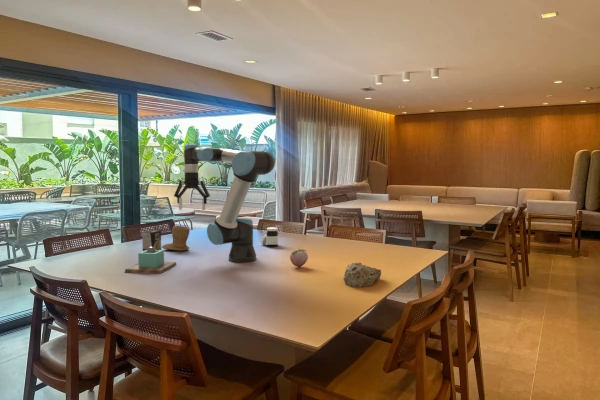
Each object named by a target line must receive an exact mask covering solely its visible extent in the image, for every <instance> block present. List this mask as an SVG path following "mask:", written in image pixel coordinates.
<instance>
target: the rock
mask: <svg viewBox="0 0 600 400" xmlns="http://www.w3.org/2000/svg"><path fill="white" fill-rule="evenodd" d="M381 276H382V269H380V268H379V269H378V268H376V267H371V266H368V265H365V264H363V263H361V262H352V263H351V264H347V267H346V268H345V271H344V277H343V282H344V284H345V285H347V286H349V287H351V288H352V287H354V288H362V287H368V286H371V285H372V284H373V283H374V282H375V281H377V280H379V279H381Z"/></svg>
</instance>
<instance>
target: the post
mask: <svg viewBox="0 0 600 400" xmlns="http://www.w3.org/2000/svg"><path fill="white" fill-rule="evenodd" d="M147 253H155V248H154V247H149V248H148V249H147Z"/></svg>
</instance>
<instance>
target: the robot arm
mask: <svg viewBox="0 0 600 400" xmlns="http://www.w3.org/2000/svg"><path fill="white" fill-rule="evenodd" d="M183 147H184V148H183V157H184V160H183V161H184V165H183V167H184V180H181V179H180V180H179V181H178V186H177V187H176V190H175V192H174V194H173V197H174V198H176V199H177V204H178V210H183V197H182V196H183V195H184V193H186V191H187V190H188V189H192V190H194V189H195V190H196V191H197V192H198V193H199V194H200V195H201V196H202V198H201V204H202V206H201V210H202V211H205V210H206V205H207V201H208V199H207V198H210V197H211V195H210V193H209V191H208V188H207V187H206V184H205V180H199V162H203V163H204V162H221V163H228V164H231V169H232V173H233V176H234V178H233V180H232V183H231V186H230V188H229V191H228V193H227V195H226V199H225V201H224V203H223V204H224V205H223V207H222V210H221V211H220V214H218V215H217V216H216V217H215V219H214V222H210V223H209V224H208V225H207V227H206V235H207V238H208V240H209V242H210V243H212V245H216V246H218V245H220V246H222V245H225V244H231V247H230V250H229V253H228V261H230V262H234V263H246V262H247V263H248V262H254V261H256V260H257V254H256V250H255V247H254V223H253V220H252V218H247V217H238V216H239V215H240V213H241V209H242V207H243V204H244V202H245V199H246V196H247V195H248V192H249V189H250V187H251V184H253V183H256V180H257V178H258V176H259V175H260V176H261V175H267V174H269V173H271V172H272V171H273V170H274V168H275V164H276V162H275V158H274V156H273V155H272V154H271V153H269V152H268V151H264V150H263V151H262V150H261V151H260V150H259V151H258V150H257V151H255V150H235V149H229V148H226V147H222V148H221V147H207V146H206V147H205V146H201V147H199V145H198V144H194V143H192V144H191V143H187V144H184V146H183ZM183 185H184V187H183ZM200 186H201V188H200ZM182 187H183V189H182Z"/></svg>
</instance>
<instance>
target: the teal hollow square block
mask: <svg viewBox="0 0 600 400" xmlns="http://www.w3.org/2000/svg"><path fill="white" fill-rule="evenodd" d="M137 255H138V258H137V259H138V261H137V262H138V263H139V267H146V268H157V267H159V266H160V265H162V264H164V262H165V249H164V250H163V249H161V250H155V253H147V250H145V251H143V250H142V251H140V252H138V254H137Z"/></svg>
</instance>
